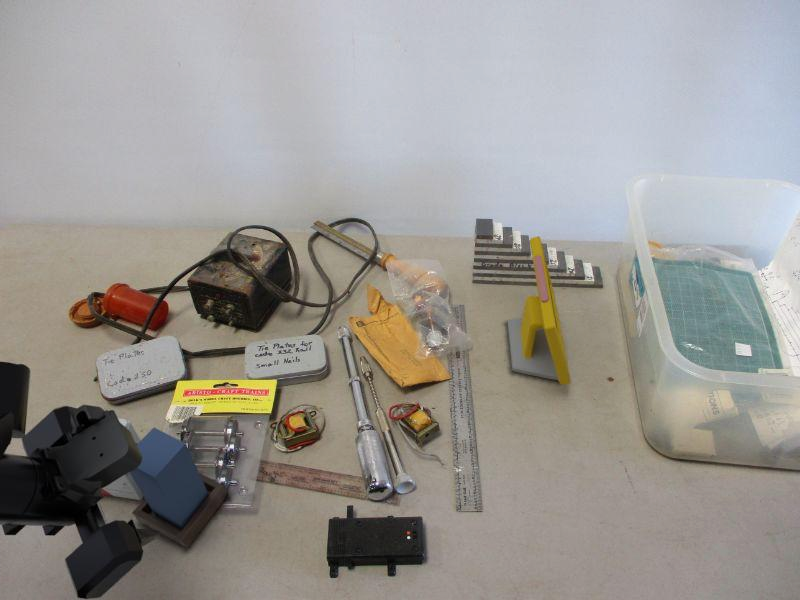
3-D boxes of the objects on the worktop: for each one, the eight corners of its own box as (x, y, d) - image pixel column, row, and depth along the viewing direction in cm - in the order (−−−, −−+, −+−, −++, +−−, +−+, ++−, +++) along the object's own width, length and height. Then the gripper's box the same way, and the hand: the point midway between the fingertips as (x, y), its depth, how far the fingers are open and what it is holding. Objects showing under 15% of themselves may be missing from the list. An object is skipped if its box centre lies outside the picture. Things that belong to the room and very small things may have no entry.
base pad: (188, 550, 73) (181, 540, 71) (139, 523, 76) (131, 512, 74) (228, 496, 79) (223, 484, 77) (181, 472, 81) (175, 461, 79)
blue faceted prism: (184, 532, 74) (154, 477, 65) (154, 515, 76) (121, 459, 67) (211, 499, 77) (185, 443, 69) (182, 483, 79) (153, 427, 70)
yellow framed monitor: (566, 398, 89) (587, 325, 78) (514, 395, 90) (527, 324, 79) (550, 306, 104) (566, 234, 93) (505, 304, 104) (515, 233, 93)
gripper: (119, 516, 46) (232, 521, 60) (48, 352, 55) (161, 389, 69) (14, 611, 46) (151, 595, 60) (-40, 431, 55) (90, 453, 69)
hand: (140, 500), depth 64 cm, fingers open, 9 cm apart
